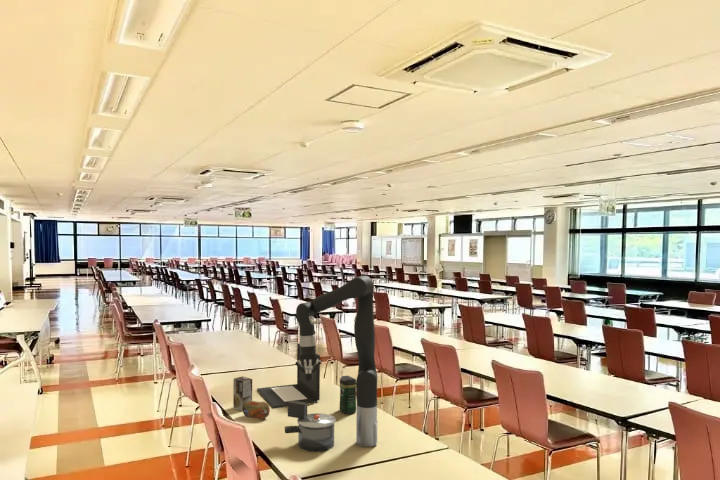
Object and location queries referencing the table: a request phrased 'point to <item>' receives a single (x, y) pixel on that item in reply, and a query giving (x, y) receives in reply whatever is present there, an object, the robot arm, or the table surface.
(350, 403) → the coffee jar
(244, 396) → the coffee box
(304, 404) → the lid
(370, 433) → the robot arm
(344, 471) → the table surface
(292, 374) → the table surface
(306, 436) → the cooking pot
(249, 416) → the tin
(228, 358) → the table surface
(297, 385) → the laptop
